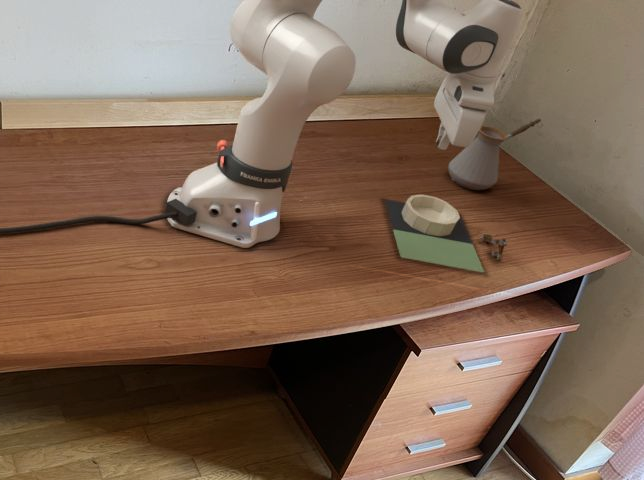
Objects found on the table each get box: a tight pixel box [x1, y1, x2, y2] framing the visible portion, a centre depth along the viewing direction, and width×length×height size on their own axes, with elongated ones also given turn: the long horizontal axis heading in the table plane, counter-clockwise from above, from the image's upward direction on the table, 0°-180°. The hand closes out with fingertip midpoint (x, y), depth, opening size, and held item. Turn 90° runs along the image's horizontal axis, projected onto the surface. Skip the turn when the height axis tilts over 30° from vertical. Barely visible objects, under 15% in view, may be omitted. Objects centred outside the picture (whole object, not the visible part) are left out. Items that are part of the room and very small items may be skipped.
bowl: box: [402, 194, 460, 236], centre depth 150 cm, size 11×11×3 cm
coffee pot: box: [448, 118, 544, 191], centre depth 166 cm, size 21×12×15 cm, turn 119°
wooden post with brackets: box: [481, 233, 508, 262], centre depth 146 cm, size 2×8×4 cm, turn 1°
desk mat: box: [384, 199, 485, 273], centre depth 148 cm, size 17×22×1 cm
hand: (440, 146), depth 152 cm, fingers closed
